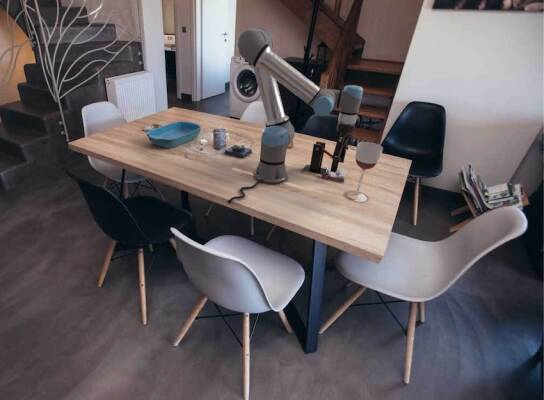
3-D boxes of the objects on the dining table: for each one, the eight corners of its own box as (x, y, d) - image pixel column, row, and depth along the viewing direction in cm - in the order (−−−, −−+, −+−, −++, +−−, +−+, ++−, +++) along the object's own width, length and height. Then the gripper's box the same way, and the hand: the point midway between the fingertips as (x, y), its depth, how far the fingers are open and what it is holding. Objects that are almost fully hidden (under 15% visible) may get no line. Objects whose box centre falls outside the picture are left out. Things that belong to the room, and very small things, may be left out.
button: (239, 149, 169) (239, 146, 169) (233, 147, 171) (233, 144, 170) (243, 146, 172) (243, 144, 172) (237, 145, 174) (237, 142, 173)
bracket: (327, 171, 155) (333, 143, 147) (323, 177, 149) (329, 148, 141) (306, 166, 159) (311, 139, 152) (301, 172, 154) (305, 143, 146)
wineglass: (361, 191, 137) (375, 141, 126) (371, 202, 129) (387, 150, 117) (341, 191, 137) (353, 141, 125) (350, 202, 128) (364, 150, 117)
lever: (339, 161, 148) (342, 157, 147) (336, 165, 144) (339, 161, 142) (317, 145, 151) (319, 141, 149) (313, 149, 146) (316, 145, 145)
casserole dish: (168, 153, 172) (167, 140, 168) (140, 144, 183) (138, 133, 179) (207, 136, 198) (207, 125, 195) (181, 129, 209) (180, 119, 205)
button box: (243, 158, 167) (243, 151, 165) (224, 153, 173) (224, 147, 171) (251, 152, 175) (252, 146, 173) (233, 148, 180) (233, 142, 178)
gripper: (349, 131, 125) (338, 178, 136) (361, 117, 144) (350, 160, 154) (330, 128, 129) (321, 174, 139) (344, 115, 147) (335, 156, 158)
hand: (337, 166), depth 147 cm, fingers open, 13 cm apart
